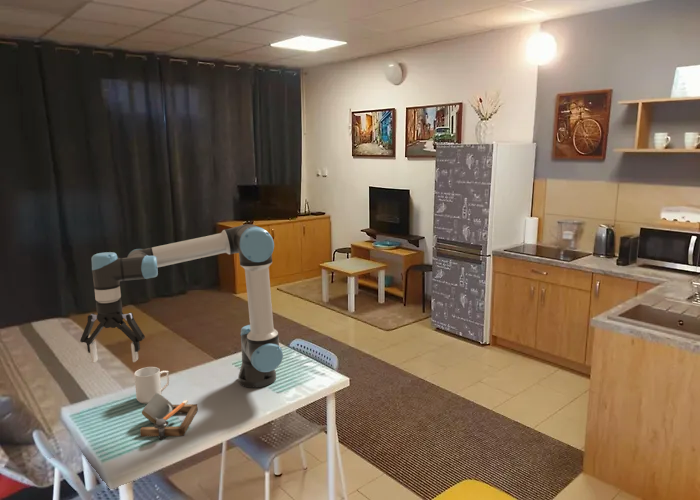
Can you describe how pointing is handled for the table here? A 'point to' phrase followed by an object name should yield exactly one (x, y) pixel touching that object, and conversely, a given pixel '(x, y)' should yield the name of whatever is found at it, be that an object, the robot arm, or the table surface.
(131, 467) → the table surface
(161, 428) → the dark grey ring
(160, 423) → the orange long spoon
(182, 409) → the brown wooden flat frame
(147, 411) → the ceramic mug
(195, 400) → the table surface
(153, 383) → the mug
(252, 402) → the table surface
